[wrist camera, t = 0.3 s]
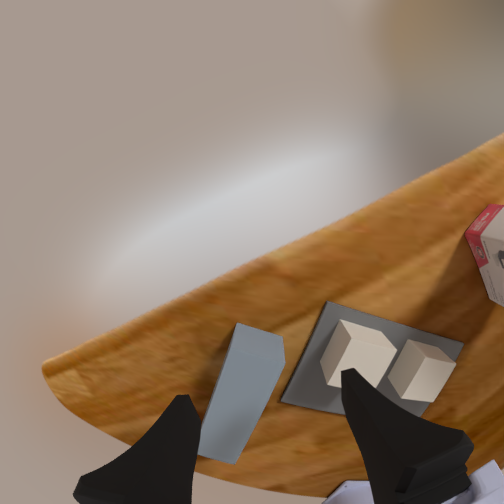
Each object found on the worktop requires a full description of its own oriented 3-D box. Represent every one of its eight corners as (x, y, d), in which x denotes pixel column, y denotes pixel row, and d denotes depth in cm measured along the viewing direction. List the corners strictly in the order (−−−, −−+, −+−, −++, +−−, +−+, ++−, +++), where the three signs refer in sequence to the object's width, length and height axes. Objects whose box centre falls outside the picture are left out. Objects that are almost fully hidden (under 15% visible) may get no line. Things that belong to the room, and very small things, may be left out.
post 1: (360, 371, 22) (372, 393, 19) (319, 361, 22) (327, 384, 19) (381, 331, 21) (397, 350, 18) (339, 319, 21) (351, 337, 18)
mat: (414, 420, 23) (416, 422, 23) (280, 398, 23) (280, 401, 23) (462, 342, 22) (464, 343, 21) (326, 300, 22) (327, 302, 21)
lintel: (282, 335, 22) (285, 363, 18) (238, 432, 24) (234, 464, 20) (237, 321, 22) (230, 347, 18) (202, 422, 24) (192, 453, 20)
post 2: (417, 382, 22) (433, 402, 19) (387, 376, 22) (401, 398, 19) (437, 347, 21) (456, 364, 18) (407, 339, 21) (425, 357, 18)
